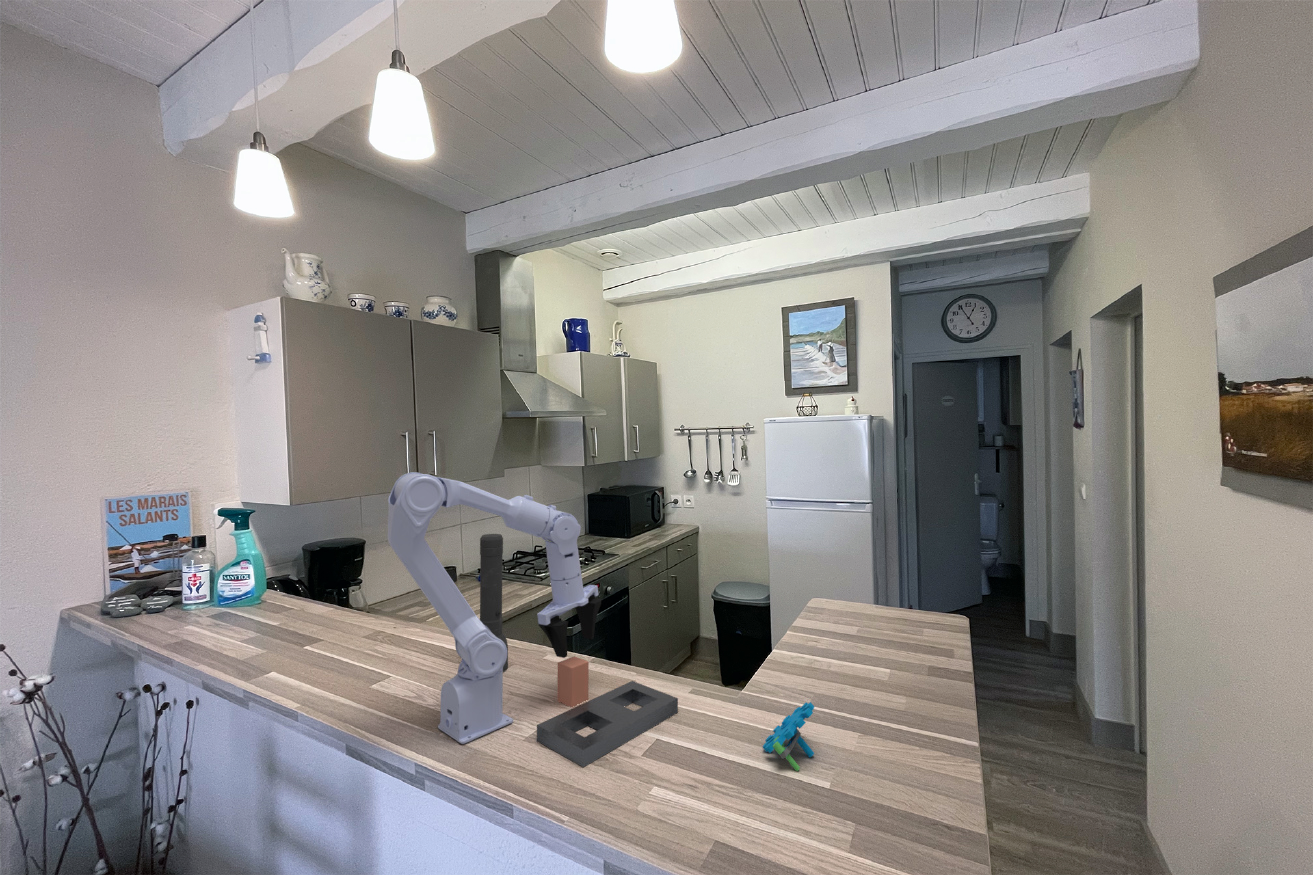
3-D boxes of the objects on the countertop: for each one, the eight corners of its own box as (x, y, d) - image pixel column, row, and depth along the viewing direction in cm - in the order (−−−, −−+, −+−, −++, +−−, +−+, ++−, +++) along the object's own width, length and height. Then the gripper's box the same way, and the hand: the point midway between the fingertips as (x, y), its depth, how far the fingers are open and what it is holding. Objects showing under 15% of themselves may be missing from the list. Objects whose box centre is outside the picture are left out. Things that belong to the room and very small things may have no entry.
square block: (571, 707, 98) (571, 668, 98) (557, 700, 101) (557, 662, 101) (588, 699, 101) (588, 661, 101) (574, 693, 104) (574, 656, 104)
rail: (583, 767, 80) (583, 749, 80) (536, 740, 87) (536, 724, 87) (677, 712, 96) (677, 698, 96) (632, 694, 103) (632, 680, 103)
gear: (775, 718, 91) (815, 688, 86) (801, 750, 89) (844, 721, 84) (747, 758, 82) (790, 727, 77) (775, 794, 80) (821, 765, 75)
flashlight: (475, 678, 110) (510, 672, 113) (476, 538, 111) (511, 536, 114) (470, 665, 117) (504, 660, 120) (472, 533, 117) (505, 531, 120)
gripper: (554, 591, 93) (565, 668, 94) (606, 564, 105) (616, 632, 106) (525, 588, 97) (535, 662, 97) (578, 562, 109) (587, 628, 110)
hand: (575, 646), depth 102 cm, fingers open, 7 cm apart
